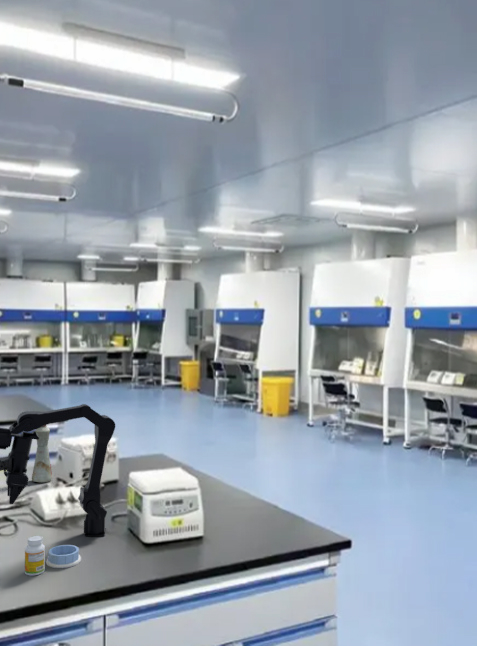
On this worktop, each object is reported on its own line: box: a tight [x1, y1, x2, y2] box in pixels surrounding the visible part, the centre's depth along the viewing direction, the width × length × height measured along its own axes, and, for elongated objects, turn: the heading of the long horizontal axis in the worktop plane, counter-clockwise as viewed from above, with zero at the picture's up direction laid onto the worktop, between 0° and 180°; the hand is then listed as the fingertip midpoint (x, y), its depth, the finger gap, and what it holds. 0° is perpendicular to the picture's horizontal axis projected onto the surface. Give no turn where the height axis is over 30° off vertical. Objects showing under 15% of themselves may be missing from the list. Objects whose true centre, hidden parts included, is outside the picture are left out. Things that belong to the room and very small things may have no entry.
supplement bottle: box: [24, 535, 46, 576], centre depth 175 cm, size 5×5×10 cm
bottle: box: [31, 425, 53, 484], centre depth 270 cm, size 9×9×28 cm
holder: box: [45, 544, 82, 569], centre depth 183 cm, size 10×10×3 cm
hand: (10, 499), depth 195 cm, fingers open, 9 cm apart
